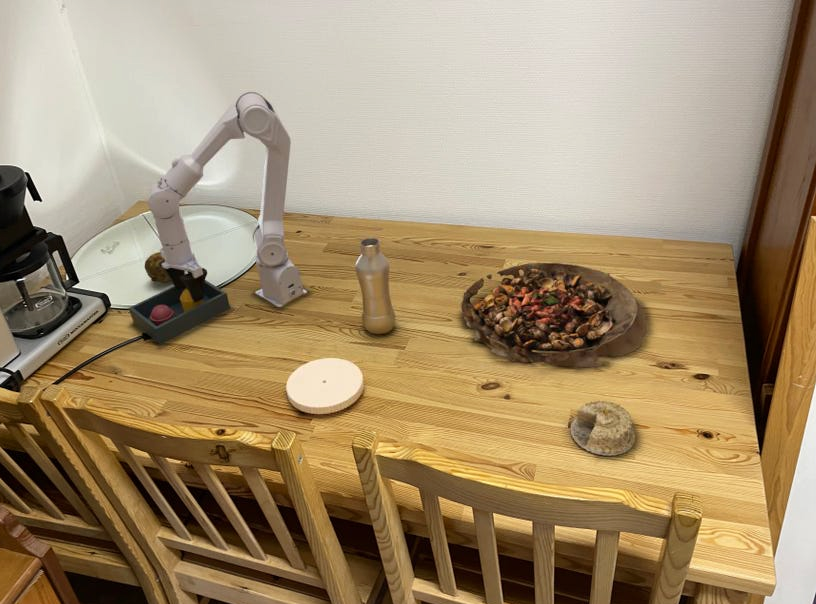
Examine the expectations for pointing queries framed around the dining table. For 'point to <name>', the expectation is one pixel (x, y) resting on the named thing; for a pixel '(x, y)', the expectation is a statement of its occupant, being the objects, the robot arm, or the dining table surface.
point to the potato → (156, 268)
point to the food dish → (556, 315)
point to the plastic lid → (325, 385)
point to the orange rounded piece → (188, 301)
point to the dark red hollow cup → (161, 314)
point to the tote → (178, 312)
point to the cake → (603, 428)
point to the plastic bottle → (375, 287)
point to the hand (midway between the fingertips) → (189, 294)
